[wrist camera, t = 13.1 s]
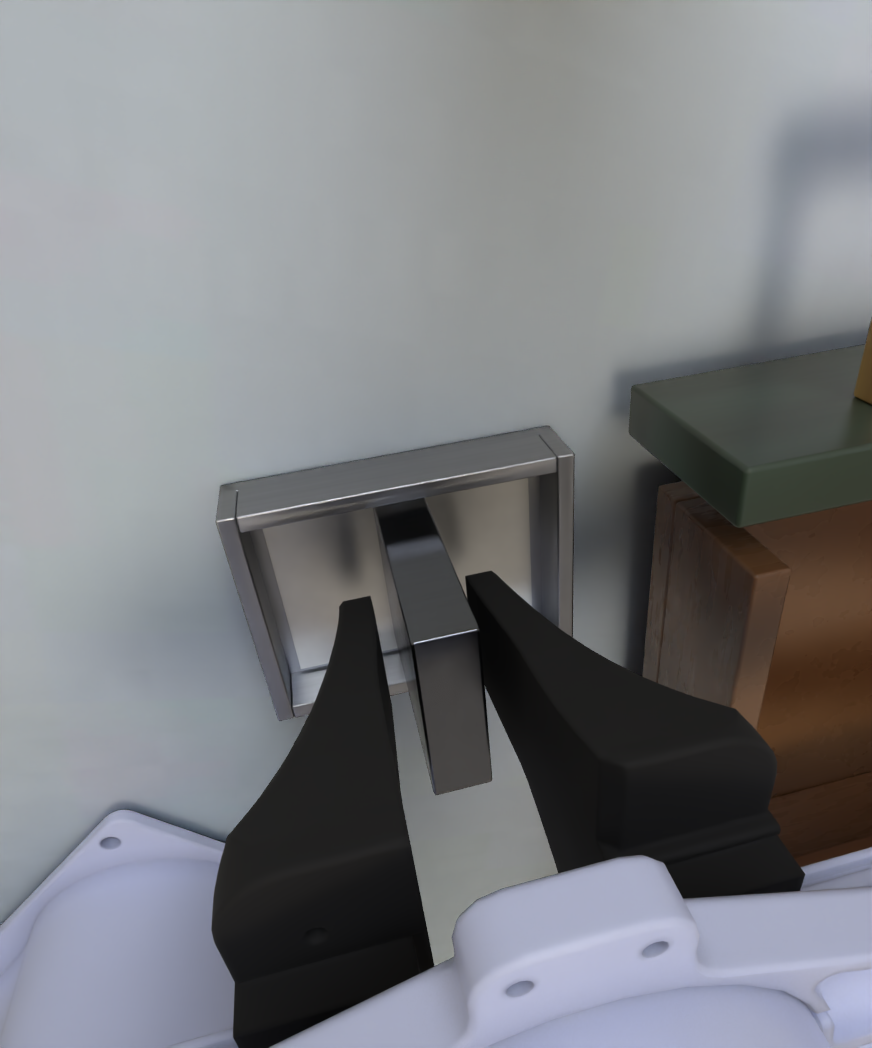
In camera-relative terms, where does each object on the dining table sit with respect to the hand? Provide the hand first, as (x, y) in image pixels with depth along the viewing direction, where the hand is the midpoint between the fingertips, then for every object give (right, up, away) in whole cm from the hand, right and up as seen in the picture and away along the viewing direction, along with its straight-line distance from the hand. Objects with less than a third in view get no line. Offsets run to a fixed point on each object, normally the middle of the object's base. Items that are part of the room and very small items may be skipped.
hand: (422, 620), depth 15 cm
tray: (0, +1, +2) cm, 2 cm away
